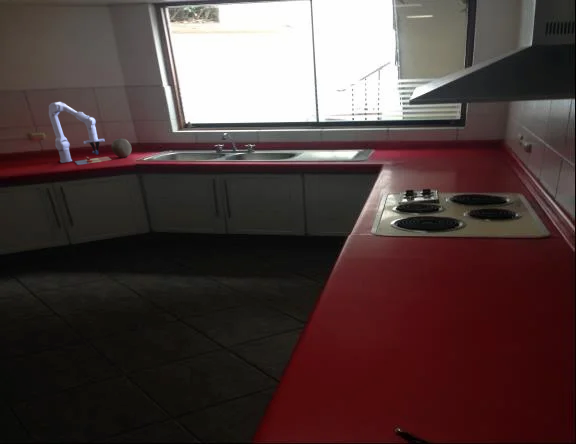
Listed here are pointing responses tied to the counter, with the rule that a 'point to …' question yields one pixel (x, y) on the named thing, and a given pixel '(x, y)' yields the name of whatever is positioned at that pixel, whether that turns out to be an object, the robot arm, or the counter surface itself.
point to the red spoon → (89, 160)
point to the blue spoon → (96, 152)
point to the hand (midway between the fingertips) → (96, 152)
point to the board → (93, 160)
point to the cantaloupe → (121, 148)
